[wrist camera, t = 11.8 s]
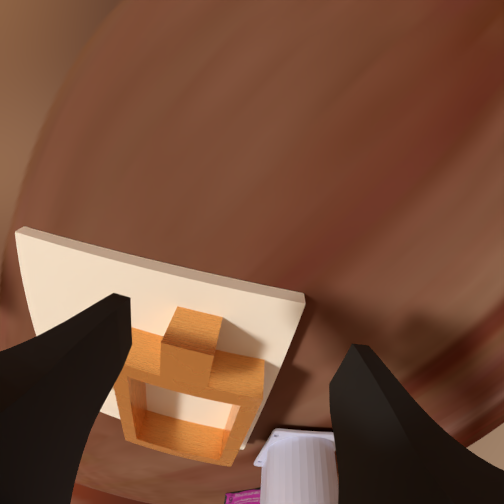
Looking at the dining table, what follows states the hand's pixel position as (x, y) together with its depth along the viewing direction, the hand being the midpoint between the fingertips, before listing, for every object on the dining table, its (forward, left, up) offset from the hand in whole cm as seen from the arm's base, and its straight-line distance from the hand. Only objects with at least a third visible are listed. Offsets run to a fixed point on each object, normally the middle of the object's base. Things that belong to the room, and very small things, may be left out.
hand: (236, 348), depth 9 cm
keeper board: (-13, +7, -9) cm, 18 cm away
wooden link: (-14, +2, -8) cm, 17 cm away
